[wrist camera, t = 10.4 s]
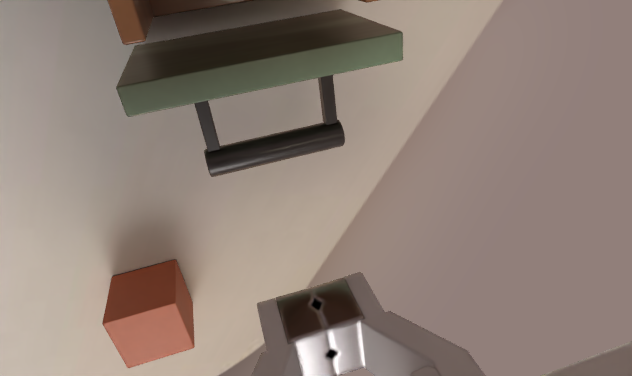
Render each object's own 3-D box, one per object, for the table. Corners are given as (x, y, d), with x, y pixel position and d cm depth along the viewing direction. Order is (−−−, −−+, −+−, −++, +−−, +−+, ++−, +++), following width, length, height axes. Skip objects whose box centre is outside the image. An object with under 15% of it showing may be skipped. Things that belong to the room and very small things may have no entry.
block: (133, 319, 31) (127, 368, 27) (111, 276, 29) (101, 323, 25) (192, 302, 32) (194, 348, 28) (175, 258, 30) (175, 302, 26)
